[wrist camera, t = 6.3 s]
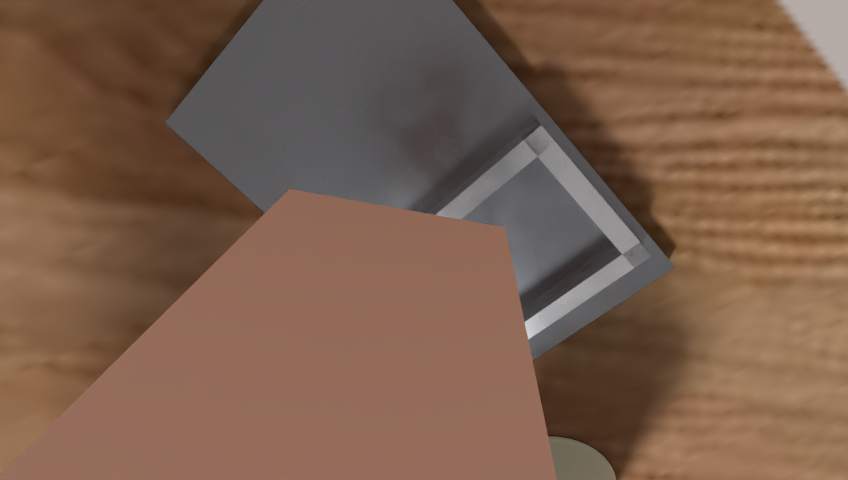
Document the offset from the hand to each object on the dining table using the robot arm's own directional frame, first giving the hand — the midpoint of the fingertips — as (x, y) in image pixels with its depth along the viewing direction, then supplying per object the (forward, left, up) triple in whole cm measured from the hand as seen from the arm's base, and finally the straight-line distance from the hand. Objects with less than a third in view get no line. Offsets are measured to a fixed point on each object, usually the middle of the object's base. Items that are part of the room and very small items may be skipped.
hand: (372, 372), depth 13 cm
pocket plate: (0, 0, -14) cm, 14 cm away
